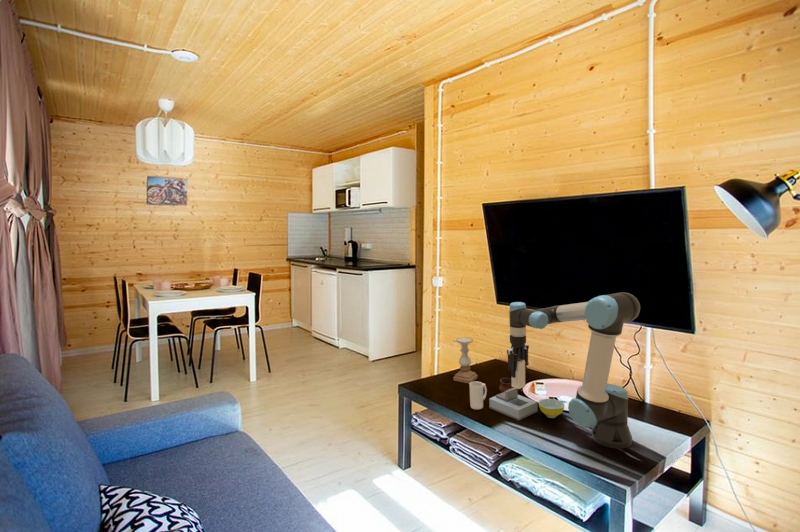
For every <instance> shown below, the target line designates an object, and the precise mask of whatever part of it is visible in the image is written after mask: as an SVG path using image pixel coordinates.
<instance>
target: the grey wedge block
mask: <svg viewBox="0 0 800 532" xmlns="http://www.w3.org/2000/svg"><path fill="white" fill-rule="evenodd" d="M518 391H519V389H517V388H515V387H514V388H512V389H509V390H507V391H505V392H503V393H501V392H500V393H497V394H496V395H495V396H496V397H497V398H500V399H502V400H505V401H507V402H508V401H510V400H513V399H515V398H517V397H518V395H519V393H518Z"/></svg>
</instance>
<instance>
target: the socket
mask: <svg viewBox="0 0 800 532" xmlns="http://www.w3.org/2000/svg"><path fill="white" fill-rule="evenodd" d="M488 401H489V402H488V403H489V406H488V407H489V409H491V410H492V411H493V410H494V411H496V412H497V413H500V414H502V415H505V416H507V417H510V418H512V419H514V420H516V421H521V420H523V419H525V418H528V417H529V416H531V415H534V414H536V413H538V409H539V405H538V401H536V400H533V399H531V398H528V397H526V396H523V395H520V394H518V397H517V398H515V399H513V400H510V401H508V402H507V401H505V400H502V399H500V398H497V397H496V395H494V396H492V397H490V398H489V399H488Z"/></svg>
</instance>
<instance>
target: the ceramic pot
mask: <svg viewBox="0 0 800 532" xmlns="http://www.w3.org/2000/svg"><path fill="white" fill-rule="evenodd" d="M499 382H500V385H499V387H498V389H499V392H500V393H503V392H505V391H507V390H509V389H512V388H514V387H512V378H509V377H502V378H501V379H499ZM522 390H523V388H521V389H520V391H522Z"/></svg>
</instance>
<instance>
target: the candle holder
mask: <svg viewBox="0 0 800 532" xmlns="http://www.w3.org/2000/svg"><path fill="white" fill-rule="evenodd" d="M455 342H456V343H457V344H460V346H461V348H460V352H461V356H460V357H459V359H458V364H459V365H460V366H459V371H458V372H457V373H454V376H453V378H452V380H453V381H455V382H459V383H462V384H463V383H464V384H469V383H470V382H474V381H476V380H477V379H478V377H479V376H478V374H477V373H476V371H472V370H471V364H472V360H471V357H470V356H469V351H470V349H469V347H468V346H469V345H470V344H471V343H473V342H474V339H473V338H472V337H466V336H464V337H463V336H462V337H457V338H455Z"/></svg>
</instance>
